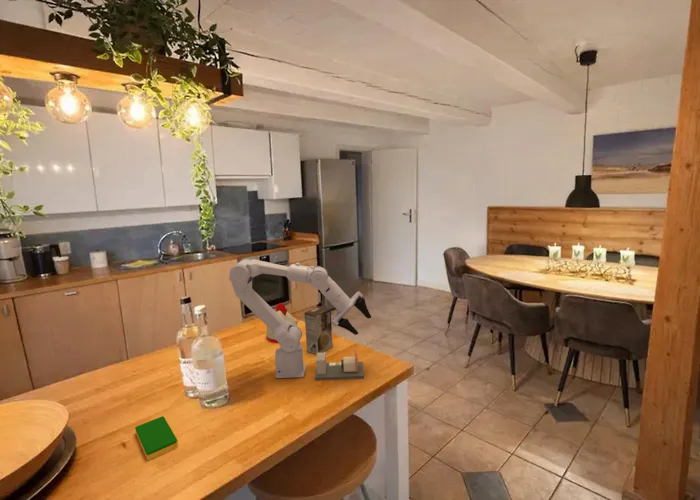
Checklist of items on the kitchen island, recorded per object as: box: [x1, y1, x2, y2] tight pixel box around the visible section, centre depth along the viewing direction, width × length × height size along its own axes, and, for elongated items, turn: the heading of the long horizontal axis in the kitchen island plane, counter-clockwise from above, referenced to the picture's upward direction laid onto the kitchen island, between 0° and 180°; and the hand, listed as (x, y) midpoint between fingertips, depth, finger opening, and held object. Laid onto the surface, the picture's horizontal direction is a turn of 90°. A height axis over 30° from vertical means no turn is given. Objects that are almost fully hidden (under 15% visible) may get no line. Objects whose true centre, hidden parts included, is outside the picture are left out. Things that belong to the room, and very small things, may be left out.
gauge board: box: [314, 351, 365, 381], centre depth 129 cm, size 16×10×6 cm, turn 91°
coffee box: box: [304, 305, 334, 355], centre depth 146 cm, size 9×6×16 cm
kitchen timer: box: [265, 302, 298, 344], centre depth 160 cm, size 14×14×15 cm
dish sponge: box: [134, 415, 179, 461], centre depth 97 cm, size 7×14×2 cm, turn 40°
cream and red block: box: [341, 349, 359, 372], centre depth 129 cm, size 6×8×5 cm
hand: (363, 325), depth 127 cm, fingers open, 7 cm apart
